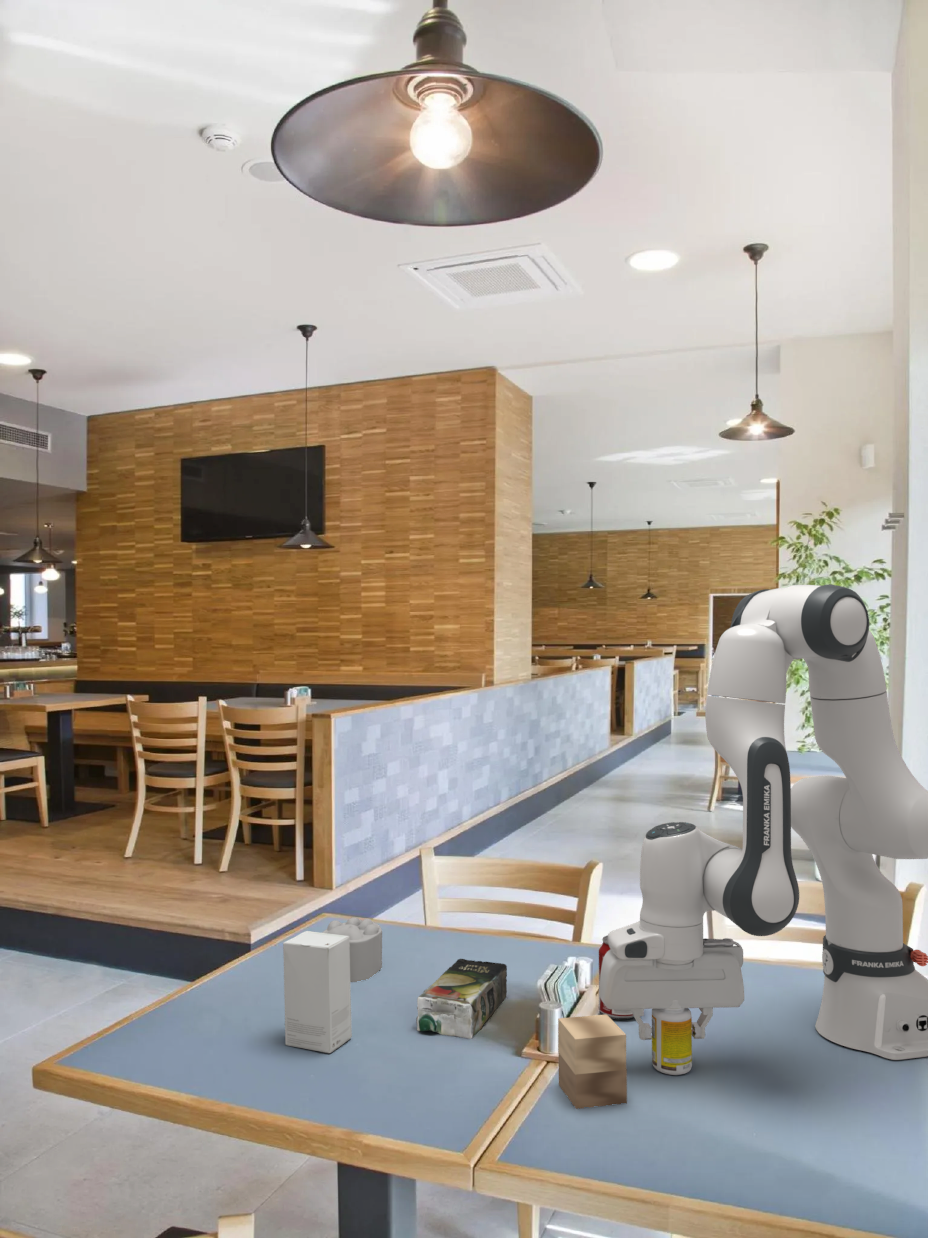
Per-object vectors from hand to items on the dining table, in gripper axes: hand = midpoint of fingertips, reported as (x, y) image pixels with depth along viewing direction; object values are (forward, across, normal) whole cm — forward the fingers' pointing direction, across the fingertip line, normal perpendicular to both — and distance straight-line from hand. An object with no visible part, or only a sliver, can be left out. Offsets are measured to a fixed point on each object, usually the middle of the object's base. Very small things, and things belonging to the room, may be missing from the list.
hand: (671, 1038), depth 133 cm
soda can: (+4, +3, -20) cm, 21 cm away
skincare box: (+4, +51, -11) cm, 52 cm away
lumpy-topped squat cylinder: (+4, +48, -44) cm, 65 cm away
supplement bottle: (+4, 0, 0) cm, 4 cm away
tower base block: (+4, +13, +7) cm, 15 cm away
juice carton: (+5, +28, -22) cm, 36 cm away
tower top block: (0, +13, +7) cm, 15 cm away
